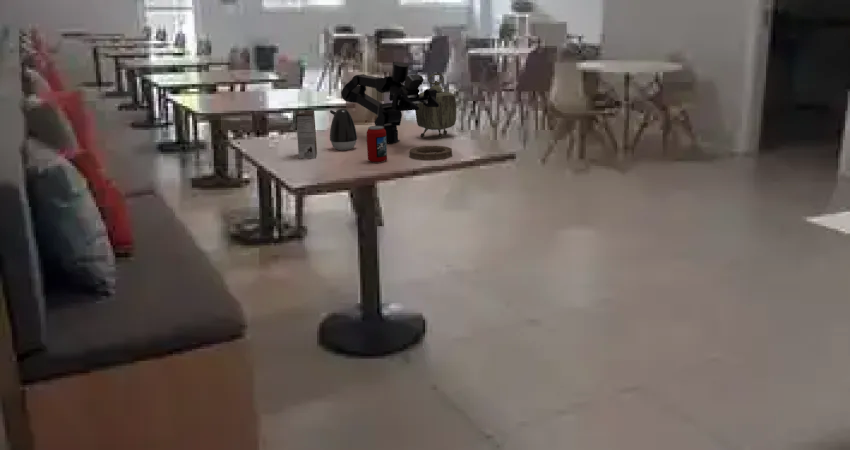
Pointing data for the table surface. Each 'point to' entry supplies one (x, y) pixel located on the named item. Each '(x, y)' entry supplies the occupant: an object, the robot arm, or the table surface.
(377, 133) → the beverage can
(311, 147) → the coffee box
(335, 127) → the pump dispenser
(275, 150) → the table surface
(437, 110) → the tabletop clock
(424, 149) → the walnut ring
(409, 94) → the robot arm
